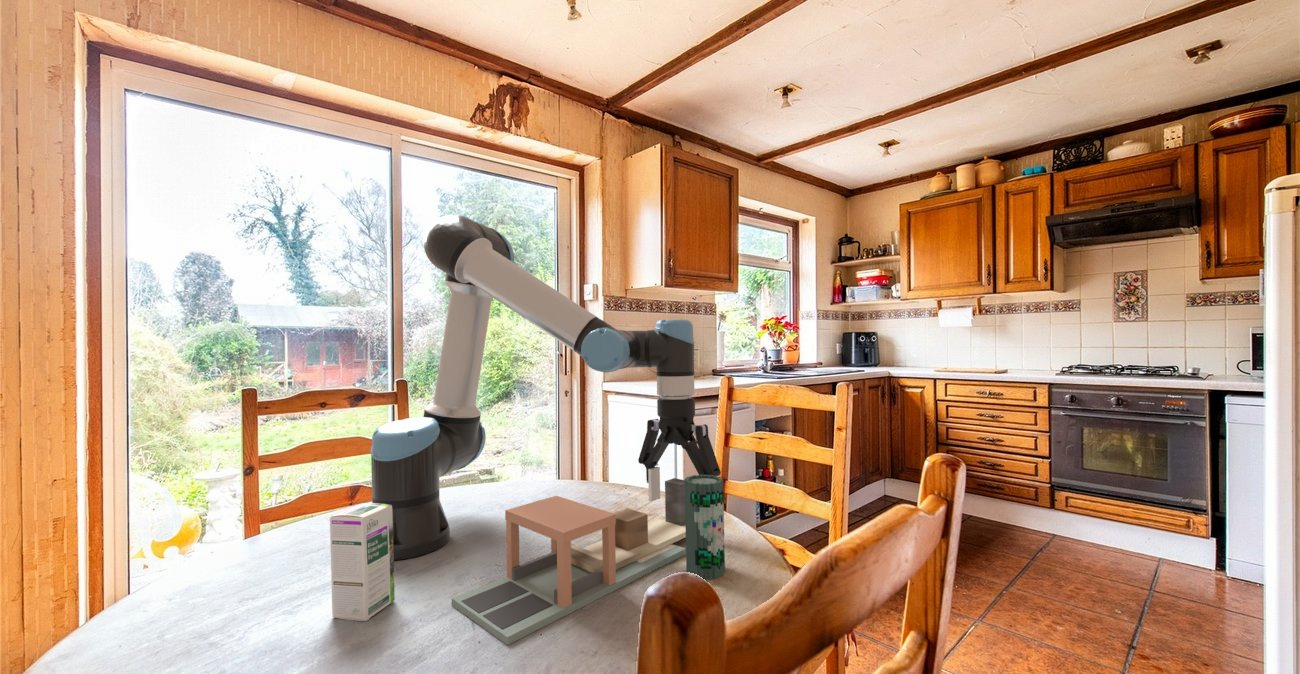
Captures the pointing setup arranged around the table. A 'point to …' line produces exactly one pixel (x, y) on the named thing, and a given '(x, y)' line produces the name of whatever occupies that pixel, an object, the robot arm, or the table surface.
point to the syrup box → (362, 561)
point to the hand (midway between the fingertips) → (677, 505)
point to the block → (631, 529)
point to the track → (552, 570)
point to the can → (704, 526)
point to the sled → (659, 533)
